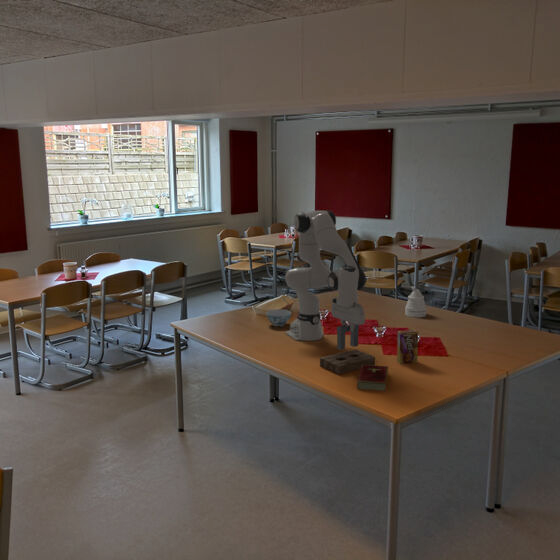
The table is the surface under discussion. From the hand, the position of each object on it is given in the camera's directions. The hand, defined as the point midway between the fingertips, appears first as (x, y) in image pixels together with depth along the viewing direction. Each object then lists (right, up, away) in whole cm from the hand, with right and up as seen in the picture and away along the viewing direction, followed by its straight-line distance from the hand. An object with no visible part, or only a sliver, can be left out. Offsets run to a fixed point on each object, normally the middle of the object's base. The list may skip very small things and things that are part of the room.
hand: (347, 330), depth 261 cm
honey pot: (+54, +1, +93) cm, 108 cm away
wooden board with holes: (0, -17, +4) cm, 17 cm away
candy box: (+29, -16, +7) cm, 34 cm away
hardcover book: (+9, -21, -16) cm, 28 cm away
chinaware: (-32, -4, +74) cm, 81 cm away
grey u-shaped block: (0, -8, +2) cm, 8 cm away
